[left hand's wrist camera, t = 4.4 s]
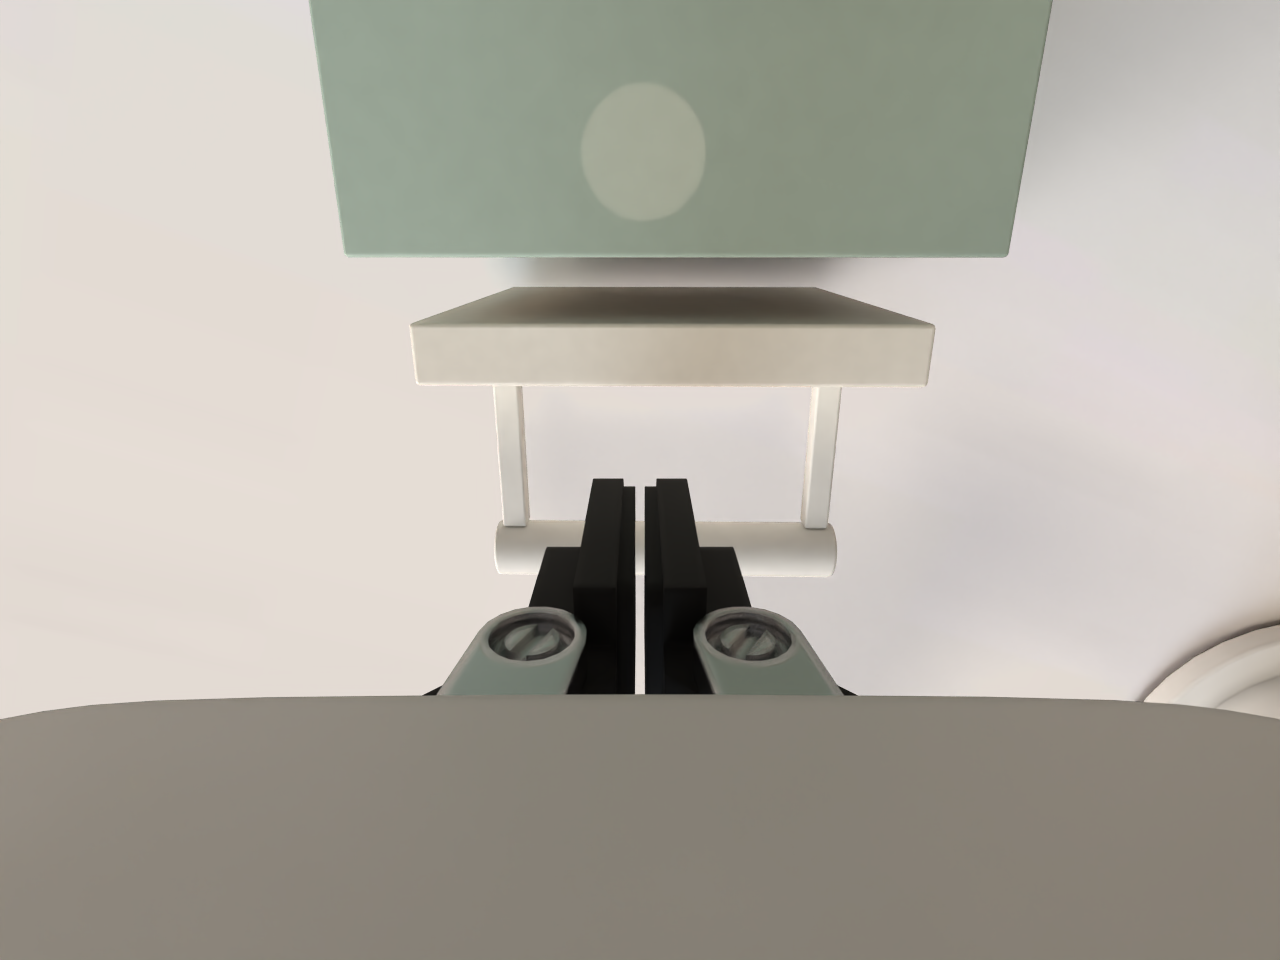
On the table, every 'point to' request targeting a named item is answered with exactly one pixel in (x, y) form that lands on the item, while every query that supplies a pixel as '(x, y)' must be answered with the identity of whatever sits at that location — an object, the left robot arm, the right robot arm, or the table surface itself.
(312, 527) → the table surface
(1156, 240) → the table surface
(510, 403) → the drawer
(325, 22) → the mint green storage box
